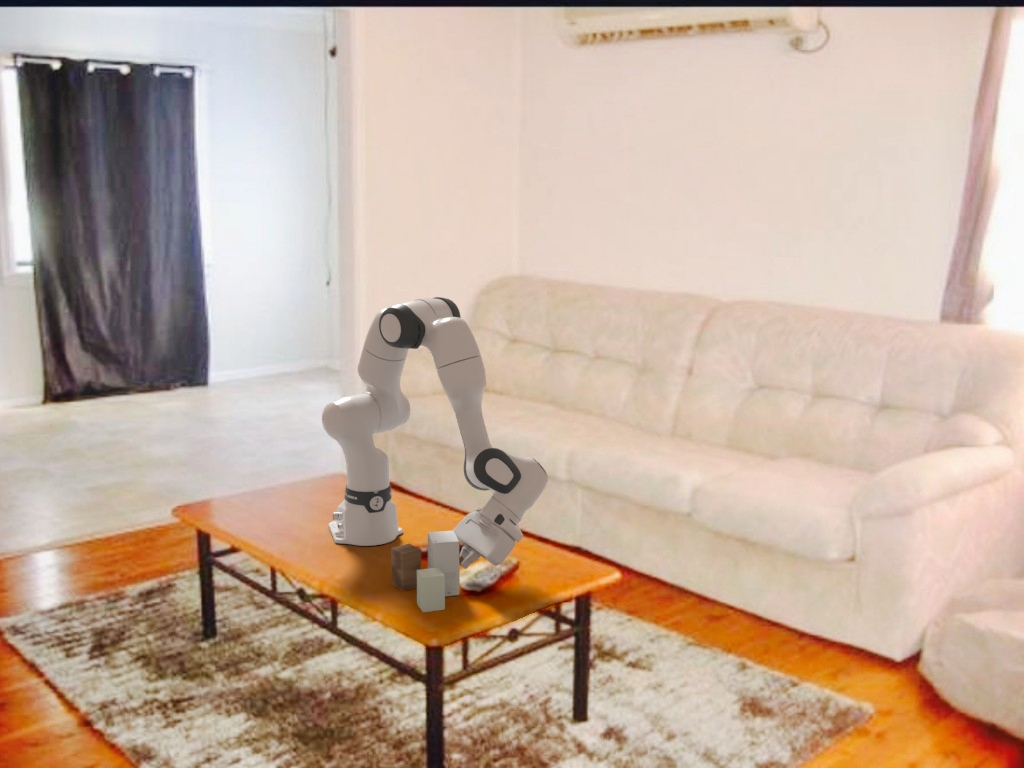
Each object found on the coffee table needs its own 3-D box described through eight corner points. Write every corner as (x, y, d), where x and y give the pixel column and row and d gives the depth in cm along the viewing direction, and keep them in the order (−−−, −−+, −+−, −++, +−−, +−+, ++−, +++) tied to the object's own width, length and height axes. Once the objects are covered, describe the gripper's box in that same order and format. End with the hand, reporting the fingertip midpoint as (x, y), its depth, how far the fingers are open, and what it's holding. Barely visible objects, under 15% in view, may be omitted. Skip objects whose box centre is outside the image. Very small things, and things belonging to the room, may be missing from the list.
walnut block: (391, 584, 242) (391, 547, 241) (409, 579, 246) (409, 543, 244) (403, 591, 239) (402, 553, 237) (421, 586, 242) (421, 549, 240)
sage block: (417, 603, 231) (416, 570, 230) (438, 600, 233) (438, 567, 232) (423, 612, 227) (422, 577, 225) (444, 609, 229) (444, 575, 227)
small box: (460, 595, 236) (459, 541, 233) (432, 598, 235) (431, 543, 232) (454, 582, 244) (454, 529, 241) (427, 584, 242) (426, 531, 240)
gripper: (469, 499, 250) (433, 544, 248) (509, 523, 233) (470, 572, 230) (486, 514, 253) (450, 558, 250) (526, 539, 235) (488, 587, 233)
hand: (460, 565), depth 240 cm, fingers closed
